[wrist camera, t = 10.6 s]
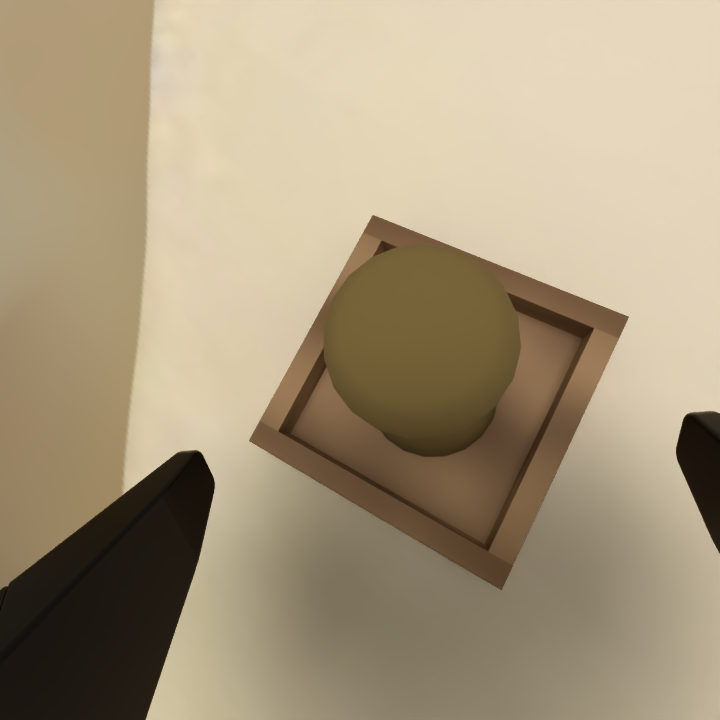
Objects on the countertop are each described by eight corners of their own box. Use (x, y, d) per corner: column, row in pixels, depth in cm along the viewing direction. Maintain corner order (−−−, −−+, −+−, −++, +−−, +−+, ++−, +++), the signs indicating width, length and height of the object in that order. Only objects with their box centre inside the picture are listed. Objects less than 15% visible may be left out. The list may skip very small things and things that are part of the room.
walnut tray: (494, 574, 20) (501, 589, 18) (269, 442, 23) (248, 440, 21) (608, 333, 21) (628, 316, 19) (380, 239, 24) (372, 214, 22)
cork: (345, 368, 22) (252, 284, 12) (454, 305, 22) (460, 162, 11) (406, 481, 21) (362, 505, 10) (525, 416, 20) (609, 368, 10)
